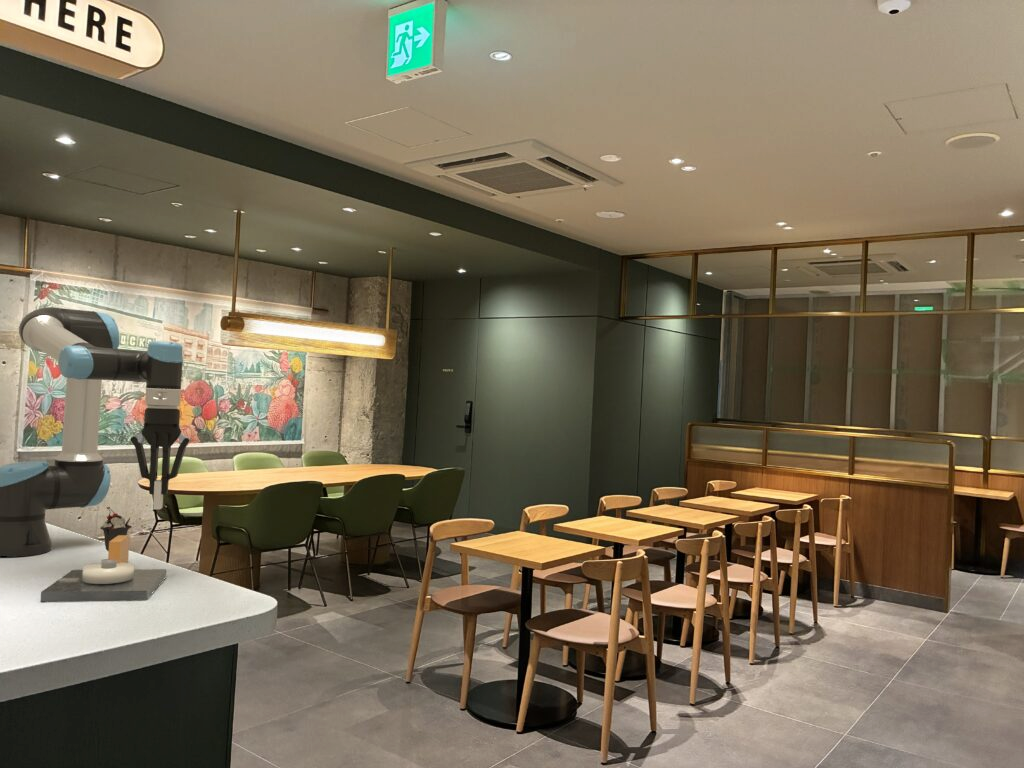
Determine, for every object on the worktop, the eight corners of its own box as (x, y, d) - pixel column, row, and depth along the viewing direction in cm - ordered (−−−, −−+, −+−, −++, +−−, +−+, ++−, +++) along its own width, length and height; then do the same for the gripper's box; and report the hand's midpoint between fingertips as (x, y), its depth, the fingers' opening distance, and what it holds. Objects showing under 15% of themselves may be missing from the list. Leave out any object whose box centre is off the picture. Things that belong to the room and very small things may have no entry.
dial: (127, 583, 165) (129, 549, 166) (75, 584, 163) (77, 549, 163) (145, 566, 182) (147, 535, 182) (98, 566, 180) (100, 535, 180)
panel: (71, 578, 176) (72, 568, 176) (165, 577, 181) (166, 568, 181) (40, 601, 157) (41, 590, 157) (146, 600, 162) (147, 589, 162)
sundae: (91, 569, 186) (95, 507, 187) (113, 563, 193) (116, 503, 193) (113, 572, 184) (116, 509, 185) (134, 566, 191) (138, 506, 191)
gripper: (128, 406, 175) (123, 510, 175) (189, 408, 178) (184, 510, 178) (136, 406, 182) (131, 506, 182) (195, 408, 186) (190, 506, 185)
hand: (157, 508), depth 180 cm, fingers closed
